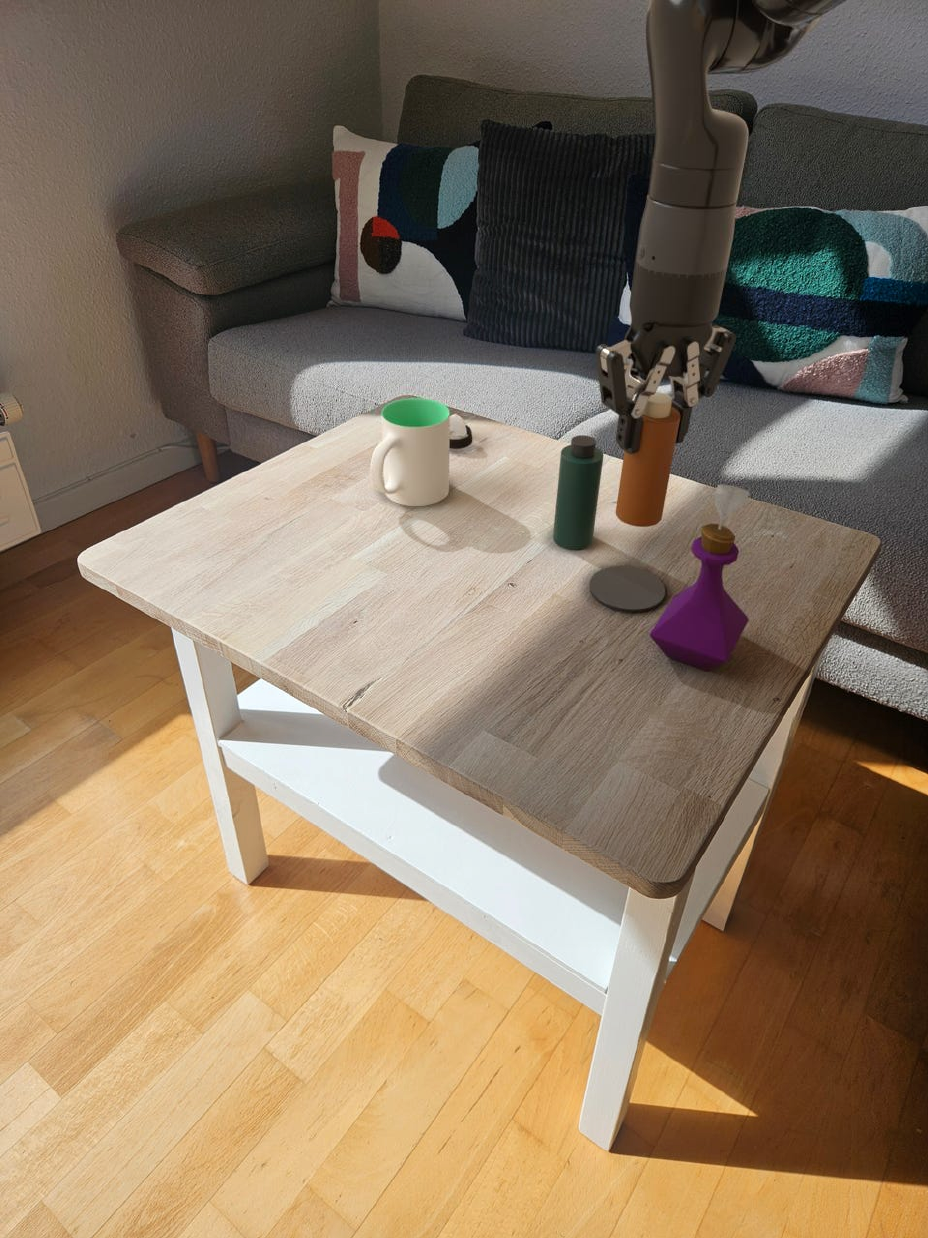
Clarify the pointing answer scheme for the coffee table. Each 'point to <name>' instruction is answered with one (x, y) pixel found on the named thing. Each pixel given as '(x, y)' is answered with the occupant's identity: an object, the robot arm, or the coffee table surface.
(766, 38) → the robot arm
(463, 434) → the watch
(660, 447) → the amber bottle
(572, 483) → the green bottle
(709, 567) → the perfume bottle
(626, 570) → the slate coaster
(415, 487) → the mug
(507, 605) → the coffee table surface
